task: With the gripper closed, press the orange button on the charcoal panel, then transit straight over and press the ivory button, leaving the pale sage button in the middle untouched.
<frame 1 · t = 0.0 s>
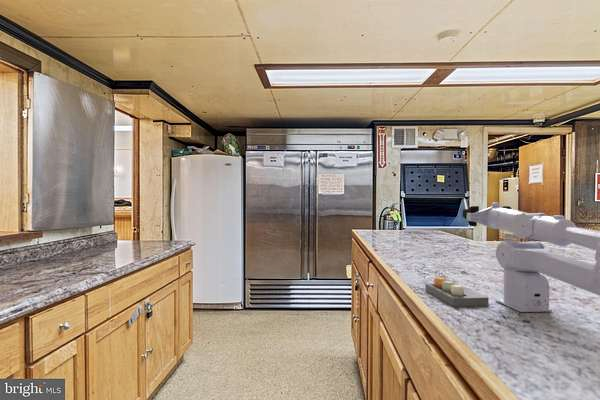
hand: (476, 213, 110), 22 cm above the counter, tool horizontal, fingers open, 7 cm apart
button orange: (440, 282, 102), point 3 cm above the counter, slide at 0.0 cm
button sage: (448, 286, 98), point 3 cm above the counter, slide at 0.0 cm
candy box: (516, 281, 119), on the counter
button ivory: (457, 291, 93), point 3 cm above the counter, slide at 0.0 cm
panel: (454, 297, 97), on the counter
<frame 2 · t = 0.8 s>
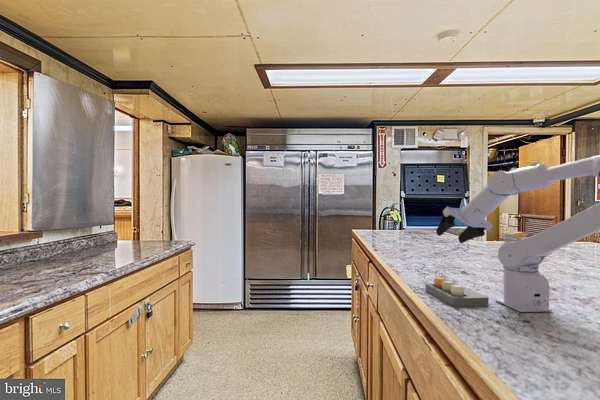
hand: (448, 236, 109), 15 cm above the counter, tool tilted 50°, fingers open, 7 cm apart
nothing on the counter moved.
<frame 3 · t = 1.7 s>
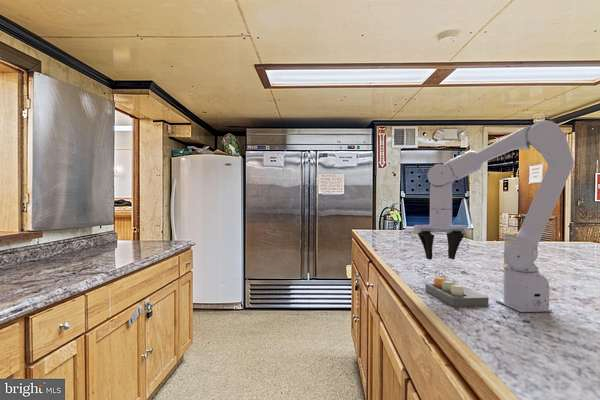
hand: (440, 258, 102), 9 cm above the counter, tool pointing down, fingers open, 6 cm apart
nothing on the counter moved.
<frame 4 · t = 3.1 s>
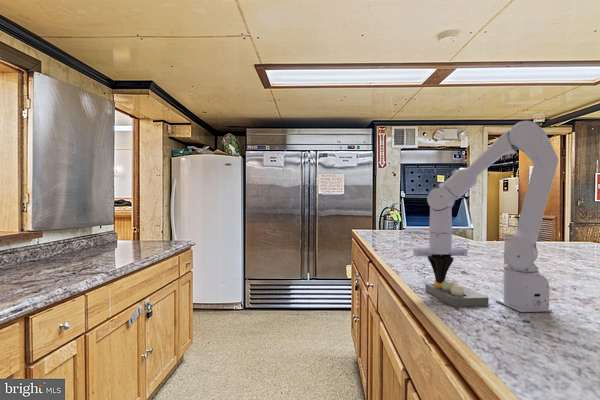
hand: (439, 282, 102), 3 cm above the counter, tool pointing down, fingers closed, pressing on button orange
button orange: (440, 286, 102), point 2 cm above the counter, slide at 1.0 cm, touching gripper
everything else where it was.
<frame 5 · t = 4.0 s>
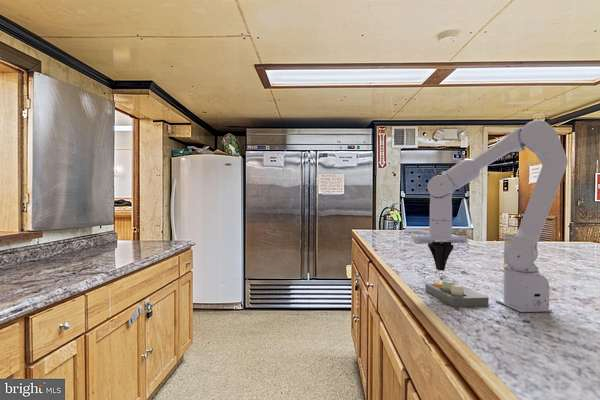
hand: (440, 269, 102), 6 cm above the counter, tool pointing down, fingers closed
button orange: (439, 287, 102), point 1 cm above the counter, slide at 1.3 cm
everything else where it was.
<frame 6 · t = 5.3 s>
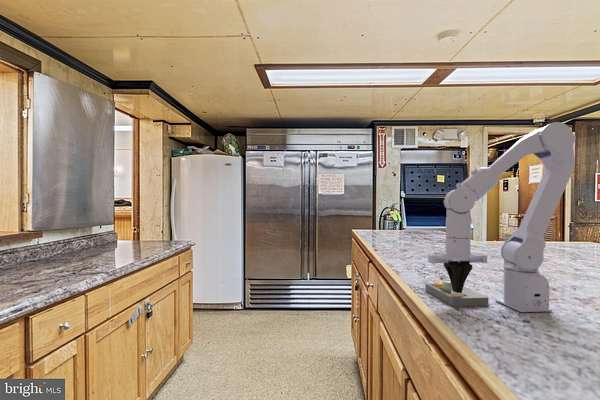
hand: (457, 291, 93), 3 cm above the counter, tool pointing down, fingers closed, pressing on button ivory
button ivory: (457, 296, 93), point 1 cm above the counter, slide at 1.3 cm, touching gripper
everything else where it was.
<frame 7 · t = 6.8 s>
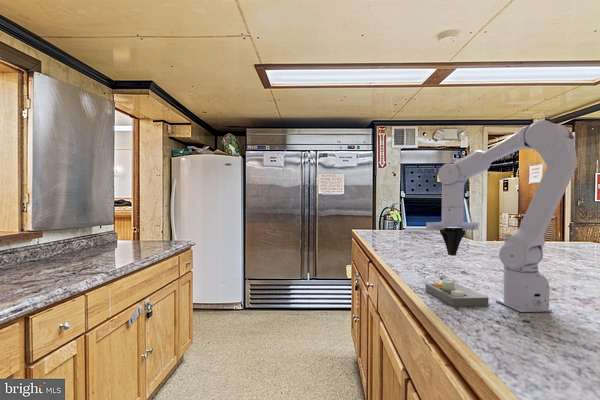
hand: (451, 255, 106), 10 cm above the counter, tool pointing down, fingers closed
button ivory: (457, 296, 93), point 1 cm above the counter, slide at 1.3 cm
everything else where it was.
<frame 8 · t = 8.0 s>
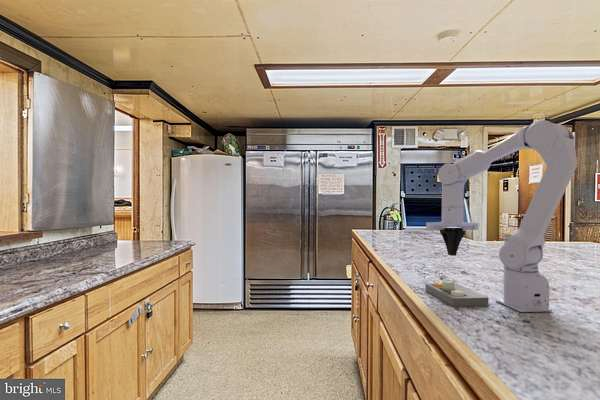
hand: (452, 255, 106), 10 cm above the counter, tool pointing down, fingers closed
nothing on the counter moved.
at the end: button orange slide at 1.3 cm; button ivory slide at 1.3 cm; button sage slide at 0.0 cm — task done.
